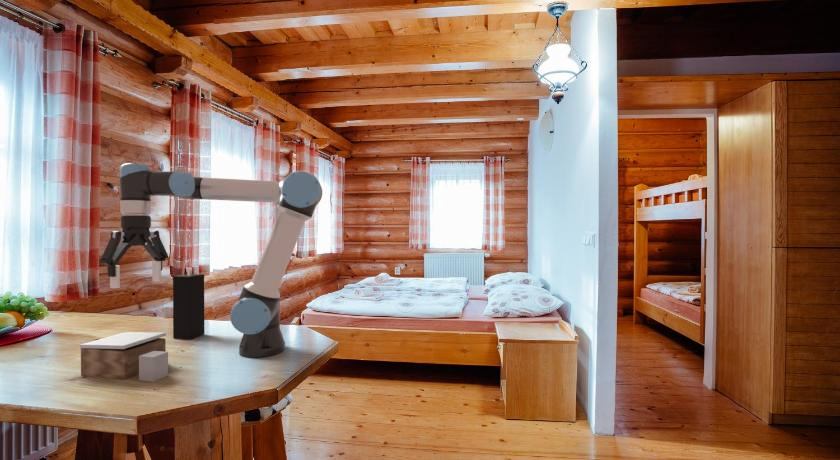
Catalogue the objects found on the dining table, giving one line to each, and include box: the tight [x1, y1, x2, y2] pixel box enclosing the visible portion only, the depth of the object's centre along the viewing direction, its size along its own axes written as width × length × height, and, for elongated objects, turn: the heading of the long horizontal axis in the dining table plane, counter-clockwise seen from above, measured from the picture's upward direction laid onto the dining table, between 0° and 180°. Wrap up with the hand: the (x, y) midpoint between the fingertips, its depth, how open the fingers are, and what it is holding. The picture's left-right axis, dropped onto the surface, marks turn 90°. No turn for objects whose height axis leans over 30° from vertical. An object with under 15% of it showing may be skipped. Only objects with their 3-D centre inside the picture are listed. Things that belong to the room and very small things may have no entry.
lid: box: [79, 331, 167, 349], centre depth 123 cm, size 16×14×1 cm
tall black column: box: [172, 266, 205, 340], centre depth 159 cm, size 8×8×28 cm
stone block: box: [138, 351, 169, 383], centre depth 116 cm, size 5×5×7 cm
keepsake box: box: [80, 337, 167, 380], centre depth 123 cm, size 16×14×8 cm
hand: (137, 284), depth 121 cm, fingers open, 13 cm apart
